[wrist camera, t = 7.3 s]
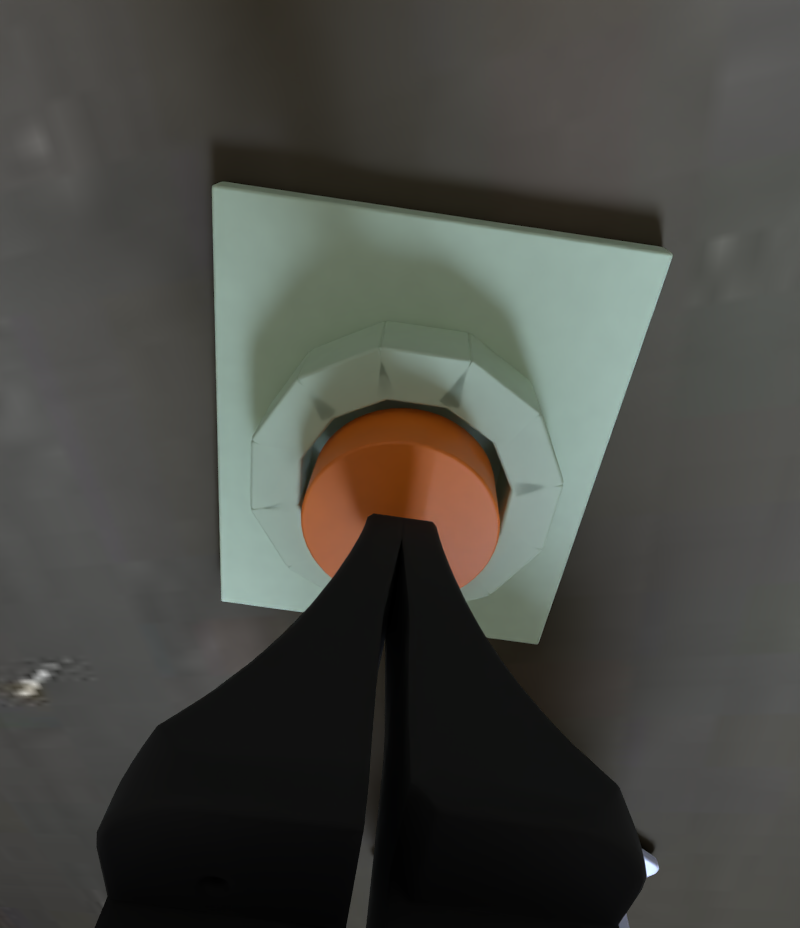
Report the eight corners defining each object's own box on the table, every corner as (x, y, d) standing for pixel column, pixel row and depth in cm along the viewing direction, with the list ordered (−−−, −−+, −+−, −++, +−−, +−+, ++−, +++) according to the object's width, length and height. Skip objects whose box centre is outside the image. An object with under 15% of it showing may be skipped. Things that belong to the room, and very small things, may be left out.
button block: (535, 629, 20) (547, 693, 18) (226, 586, 20) (201, 646, 18) (665, 246, 14) (705, 274, 12) (220, 180, 14) (179, 196, 12)
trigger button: (475, 570, 16) (478, 615, 15) (308, 547, 16) (295, 590, 15) (513, 421, 14) (521, 458, 13) (319, 393, 14) (305, 427, 13)
